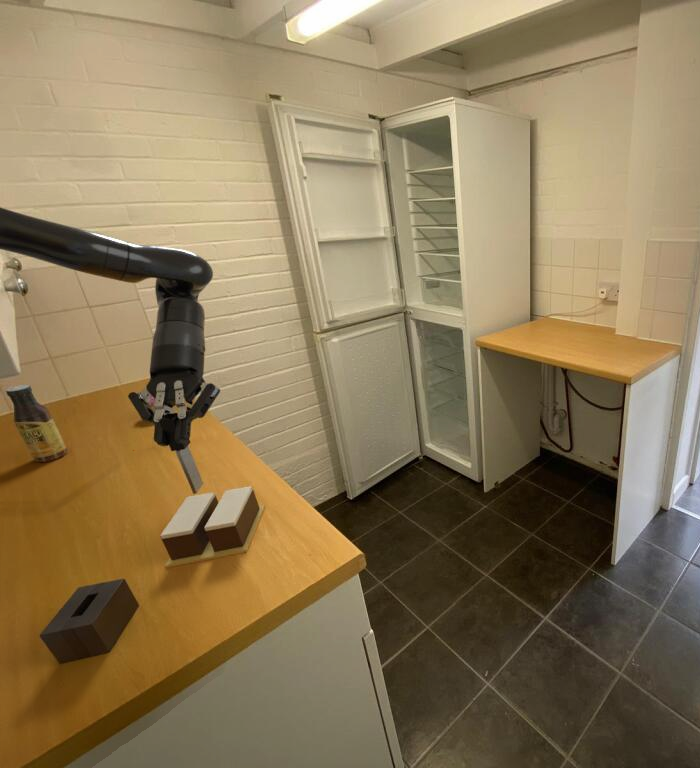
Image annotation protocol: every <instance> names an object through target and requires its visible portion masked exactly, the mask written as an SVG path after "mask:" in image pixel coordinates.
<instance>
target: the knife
mask: <svg viewBox="0 0 700 768" xmlns="http://www.w3.org/2000/svg"><path fill="white" fill-rule="evenodd" d="M176 420H179V418H178V412H173V413H172V414H165V415H164V416H163V417H162V418H161V419H160V420H159V423H160V425H161V427H162V430H163V432H164V434H165V437H166V439H167V441H168V444H169V445H168V447H169V448H170V451H171V452H175V453H176V456H177V458H178V460H179V463H180V466H181V468H182V471H183V473H184V475H185V478H186V480H187V483H188V484H189V488H190V489H191V492H192V494H193V495H195V494H196V495H197V494H198V493H199V490H200V489H202V486H203V485H204V481H203V479H202V476H201V474H200V471H199V469H198V467H197V464H196V461H195V459H194V456H193V454H192V451H191V449H190V446H189V445H190V444H191V440H190V439H189V440H187V442H186V443H184V444H179V443H177V442H175V428H176Z"/></svg>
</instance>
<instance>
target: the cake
mask: <svg viewBox="0 0 700 768" xmlns="http://www.w3.org/2000/svg"><path fill="white" fill-rule="evenodd" d="M265 509H266V504H262V505H259V502H258V499H257V497H256V493H255V491H254V487H253V486H252V485H250V486H244V487H238V488H237V487H236V488H231V489H226V490H225V491H224V492H223V494H222V496H221V497H220V500H219V501H218V498H217V496H216V493H215V492H214V491H213V492H208V493H202V494H196V495H195V494H194V495H189V496H186V497H185V499H184V501H183V502H182V503H181V505H180V506H179V508H178V509H177V511H175V514H174V515H173V516H172V518H171V519H170V521H169V522H168V524H167V525H166V526H165V528H164V529H163V530H162V532H161V534H160V539H161V541H162V544H163V546H164V548H165V549H166V551H167V554H168V556H169V558H168V560H167V561H166V562H165V565H164V568H165V569H168V568H173V567H178V566H179V567H180V566H184V565H190V564H194V563H200V562H203V561H209V560H214V559H218V558H219V559H220V558H224V557H229V556H233V555H240V554H244V553H247V552H248V550H249V548H250V545H251V543H252V541H253V538H254V536H255V533H256V530H257V528H258V526H259V524H260V521H261V519H262V517H263V514H264V511H265Z"/></svg>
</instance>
